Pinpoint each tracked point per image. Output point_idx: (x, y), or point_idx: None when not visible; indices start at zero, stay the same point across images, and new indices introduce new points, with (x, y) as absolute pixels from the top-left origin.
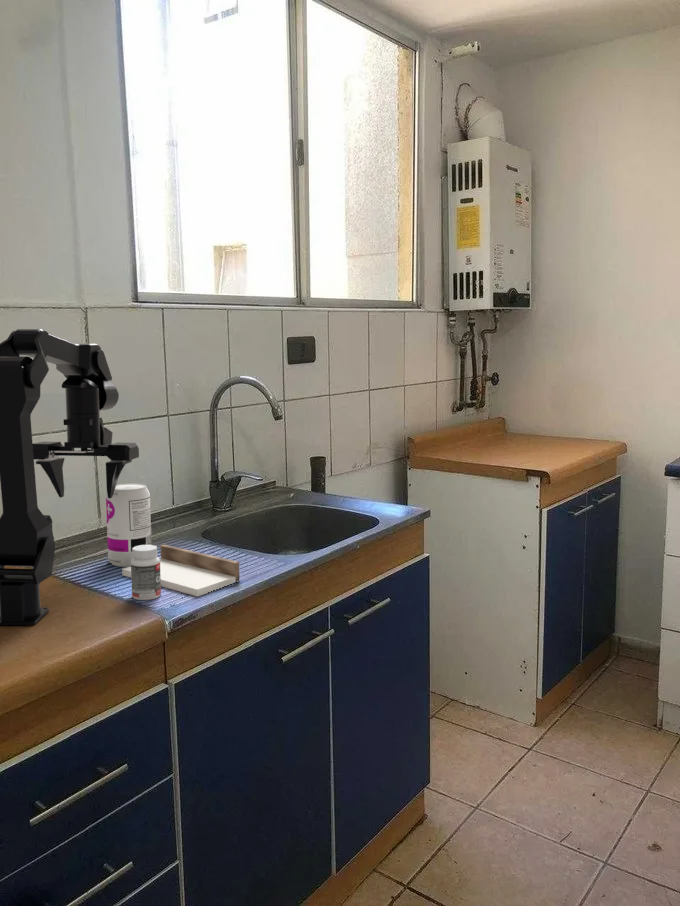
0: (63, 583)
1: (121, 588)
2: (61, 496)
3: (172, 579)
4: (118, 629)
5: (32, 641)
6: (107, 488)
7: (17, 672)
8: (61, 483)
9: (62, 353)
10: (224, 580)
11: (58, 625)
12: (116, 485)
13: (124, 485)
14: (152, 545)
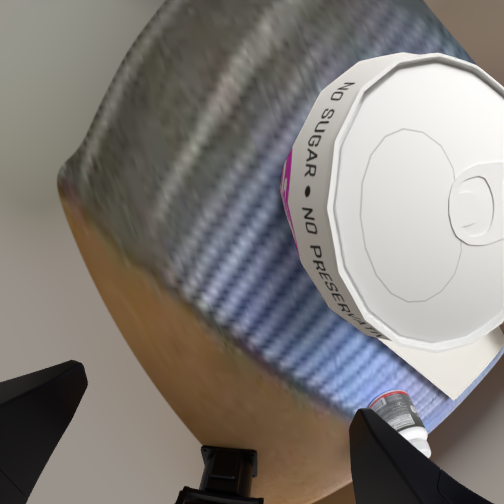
0: (225, 350)
1: (347, 378)
2: (86, 387)
3: (434, 368)
4: (350, 474)
5: (270, 491)
6: (357, 484)
7: None
8: (42, 414)
9: None
10: (492, 359)
11: (284, 473)
12: (362, 91)
13: (429, 102)
14: (426, 451)
